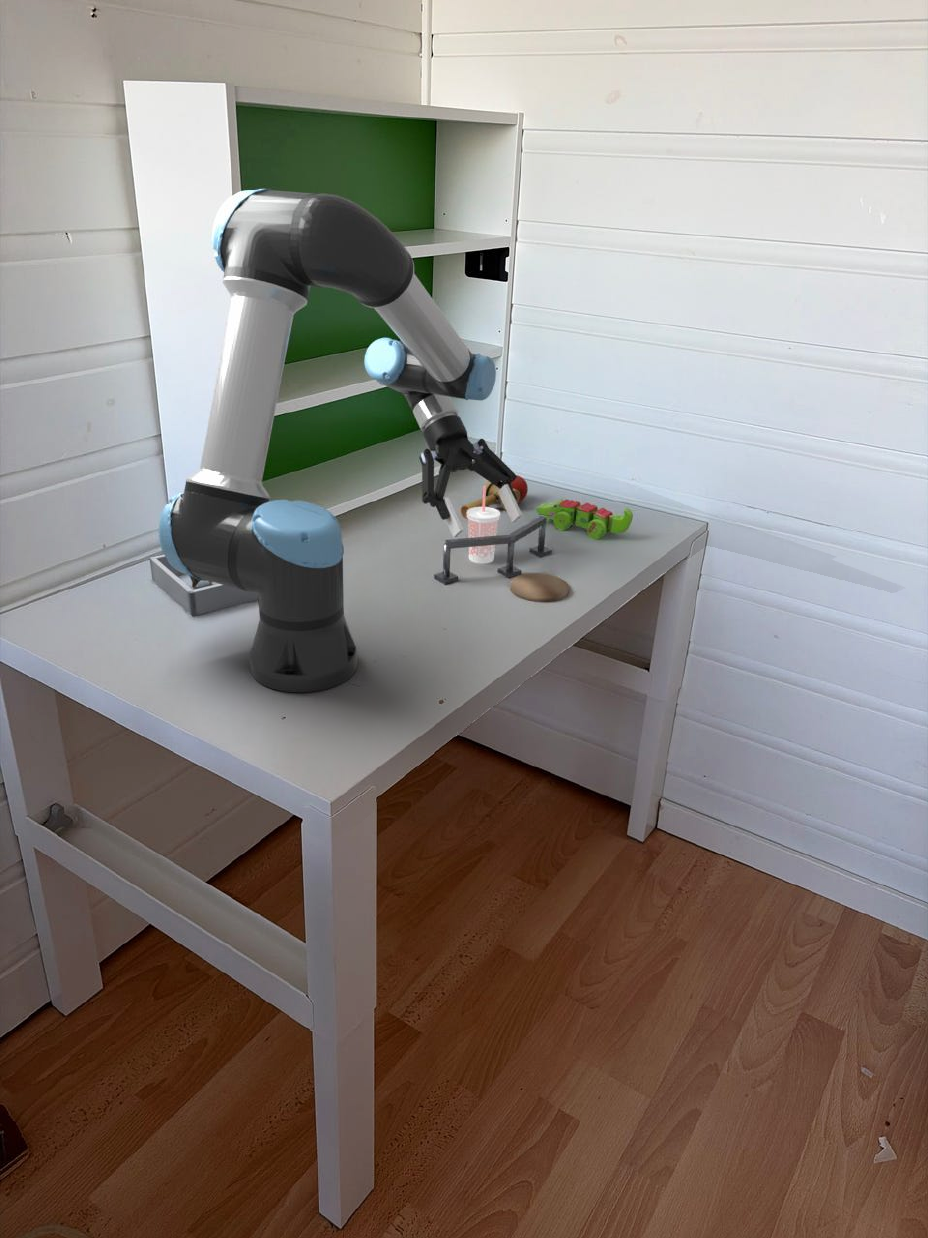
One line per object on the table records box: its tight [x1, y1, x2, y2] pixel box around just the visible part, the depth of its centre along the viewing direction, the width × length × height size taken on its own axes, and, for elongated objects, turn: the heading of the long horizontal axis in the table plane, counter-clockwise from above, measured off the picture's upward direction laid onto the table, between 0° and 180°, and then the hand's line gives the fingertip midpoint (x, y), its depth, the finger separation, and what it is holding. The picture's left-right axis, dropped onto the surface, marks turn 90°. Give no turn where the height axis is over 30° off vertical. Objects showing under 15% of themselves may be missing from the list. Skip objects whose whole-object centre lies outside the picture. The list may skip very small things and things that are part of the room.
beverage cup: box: [466, 484, 501, 564], centre depth 169 cm, size 6×6×14 cm
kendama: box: [460, 474, 529, 520], centre depth 196 cm, size 8×6×18 cm
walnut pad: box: [509, 572, 570, 603], centre depth 161 cm, size 10×10×1 cm
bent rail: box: [433, 516, 553, 585], centre depth 167 cm, size 25×7×7 cm, turn 128°
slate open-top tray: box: [149, 554, 258, 617], centre depth 156 cm, size 14×17×4 cm
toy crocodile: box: [536, 498, 634, 540], centre depth 186 cm, size 20×7×6 cm, turn 58°
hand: (488, 526), depth 169 cm, fingers open, 13 cm apart
